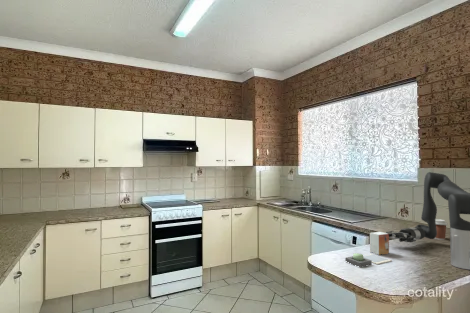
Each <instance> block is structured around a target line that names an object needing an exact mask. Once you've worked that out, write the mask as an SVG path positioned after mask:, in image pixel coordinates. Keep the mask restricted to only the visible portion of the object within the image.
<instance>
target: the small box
mask: <svg viewBox="0 0 470 313" xmlns="http://www.w3.org/2000/svg"><path fill="white" fill-rule="evenodd" d="M369 252H370V253H371V252H373V253H372V254H374V253H375V254H374V255H377V254H378V255H377V256H381V254H382V255H389V254H390V238H389V234H388V233H386V232H383V231H376V232H375V231H374V232H370V233H369ZM388 253H389V254H388Z"/></svg>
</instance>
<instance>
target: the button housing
mask: <svg viewBox="0 0 470 313" xmlns="http://www.w3.org/2000/svg"><path fill="white" fill-rule="evenodd" d="M344 259H345V261H347V262H349V263H348V264H350V263H351V264H350V265H352V264H354V265H353V266H355V265H356V267H357V266H359V267H358V268H363V267H362V266H364V267H367V266H366V265H368V266H371V265H372V264H373V263H372V260H369V259H366V258H363V261H357V260H354V259H353V255H352V256H348V257H345V258H344ZM347 262H346V263H347Z"/></svg>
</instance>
